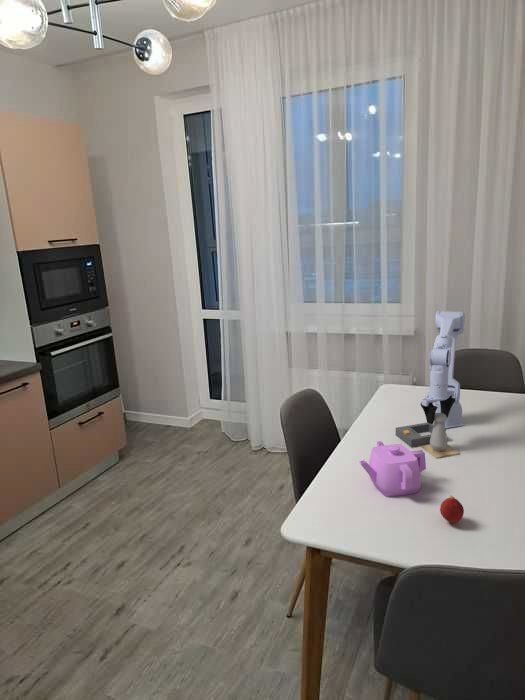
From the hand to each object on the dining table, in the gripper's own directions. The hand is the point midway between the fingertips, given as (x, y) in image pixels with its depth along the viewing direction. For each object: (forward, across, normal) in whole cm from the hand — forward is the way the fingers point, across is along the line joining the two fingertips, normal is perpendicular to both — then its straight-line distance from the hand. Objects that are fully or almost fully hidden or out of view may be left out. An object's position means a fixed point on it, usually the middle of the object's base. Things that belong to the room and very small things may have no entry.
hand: (437, 420), depth 169 cm
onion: (+10, +33, +30) cm, 46 cm away
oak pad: (+10, +1, +2) cm, 11 cm away
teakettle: (+11, +30, +7) cm, 32 cm away
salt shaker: (+10, +1, +2) cm, 10 cm away
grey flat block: (+10, -2, -8) cm, 13 cm away
